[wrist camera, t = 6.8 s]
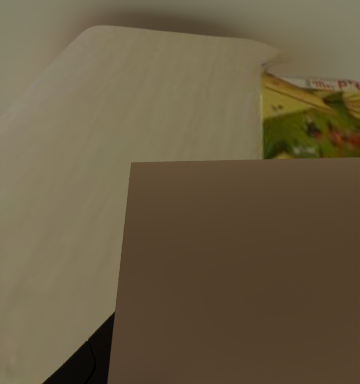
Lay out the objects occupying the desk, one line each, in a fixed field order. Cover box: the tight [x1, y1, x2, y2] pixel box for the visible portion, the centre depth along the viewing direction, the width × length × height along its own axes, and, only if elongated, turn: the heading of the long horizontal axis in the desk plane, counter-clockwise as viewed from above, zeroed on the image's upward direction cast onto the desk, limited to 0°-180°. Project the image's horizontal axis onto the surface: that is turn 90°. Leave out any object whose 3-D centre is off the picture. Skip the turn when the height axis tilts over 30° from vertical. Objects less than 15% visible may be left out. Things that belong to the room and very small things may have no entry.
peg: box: [107, 157, 360, 384], centre depth 8 cm, size 4×4×12 cm
